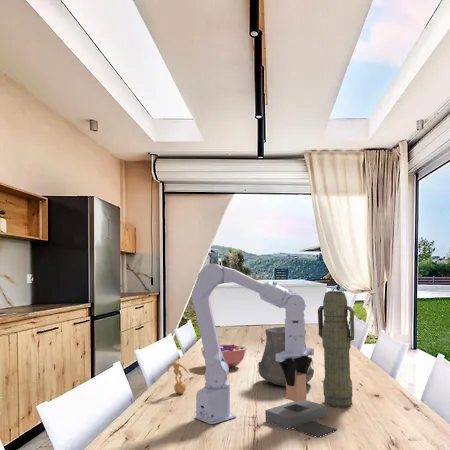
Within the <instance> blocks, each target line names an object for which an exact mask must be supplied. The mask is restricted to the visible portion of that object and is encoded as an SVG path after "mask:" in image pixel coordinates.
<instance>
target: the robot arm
mask: <svg viewBox="0 0 450 450" xmlns="http://www.w3.org/2000/svg"><path fill="white" fill-rule="evenodd" d="M222 282H223V284H229V283H234V284H236V285H238V286H241V287H244V288H246V289H248V290H251V291H253V292H255V293H258V295H259V297H260V299H261V300H262V301H264V302H267V303H269V304H270V305H272V306H275V307H276V308H279V309H283V308H284V309H285V319H284V327H285V351H283V352H281V353H278V354H276V361H278V362H279V364H280V365H281V367H282V369H283V372H284V375H285V378H286V382H287V385H289V386H294V383H295V371H296V372H299V373H303V374H307V371H308V368H309V365H310V364H311V363H312V361H313V358H312V357H310V356H315V349H314V347H313V348H312V347H306V348H305V344H306V334H305V330H306V328H305V327H306V325H305V323H306V321H305V313H304V311H305V309H306V307H307V305H306V302H305V300H304V298H303V297H302V296H301V295H300V294H298V293H297V292H293V290H292V289H290V288H289V289H286V288H285V287H282V286H280V285H278V282H276V281H267V282H260V281H259V280H257V279H254V278H252V276H249V275H246V274H245V273H243V272H241V271H238V270H237V269H235V268H231V267H228V266H223V265H220V264H218V263H209V264H206V265H205V266H204V267H202V268H201V270H200V271H199V272H198V274H197V278H196V281H195V284H194V286H193V289H192V292H191V298H192V303H193V308H194V313H195V316H196V320H197V326H198V329H199V335H200V340H201V344H202V347H203V349H204V353H205V359H204V364H205V372H204V380H205V383H204V386H203V388H201V389H199V390H197V392H196V395H195V402H196V403H195V409H196V410H195V412H196V413H195V415H194V419H197V420H198V421H202V422H205V423H206V424H208V425H214V424H217V423H221V422H225V421H228V420H231V419H235V418H237V415H236V414H233V413H231V395H230V393H231V391H230V390H231V385H230V382H229V381H228V375H229V374H230V373H229V372H230V367H229V366H228V364H227V363H226V361H225V360H224V358H223V354H222V352H221V349H220V345H221V344H220V341H219V336H218V334H217V333H218V332H217V328H216V323H215V320H214V315H213V310H212V307H211V302H210V296H211V294H212V293H213V291H214V290H215V288H217V286H219V285H220V284H221V283H222ZM292 359H294V361H293V360H292Z"/></svg>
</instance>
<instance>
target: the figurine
mask: <svg viewBox="0 0 450 450" xmlns="http://www.w3.org/2000/svg"><path fill="white" fill-rule="evenodd" d="M179 362H180V361H179V358H176V359H175V360H174V361H172V362H171V363H169V364H168V365H167V371H166V372H167V373H169V372H170V367H173V374H175V381H176V383H175V384H174V386H173V389H174V392H175V393H176V394H178V395H182V394H183V393H185V392H186V389H187V386H186V383H184V382H183V381H182V380H181V379H182V377H183V373H182V371H181V370H180V368H182V369H183V370H184V371H185V372H186V373H187V374H189V371H188V370H187V368H186V367H185V366H183V365H182V364H181V363H179ZM178 375H179V379H178Z"/></svg>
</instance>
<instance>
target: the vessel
mask: <svg viewBox="0 0 450 450" xmlns="http://www.w3.org/2000/svg"><path fill="white" fill-rule="evenodd" d="M264 332H265V335H266V337H265V339H266V340H265V346H264V350H263V353H262V356H261V360H260V361H259V362H258V363H257V365H258V366H257V367H258V374H259V376H260V377H261V378H262V379H263V380H264V381H267V382H269V383H271V384H273V385H276V386H281V387H286V378H285V375H284V372H283V369H282V367H281V365H280V364H279V362H278V361H276V354H278V353H281V352H283V351H285V326H278V327H276V326H275V327H270V328H265V331H264ZM306 332H307V330H306V329H305V335H306V334H307V333H306ZM305 348H307V344H306V343H305ZM292 360H293V361H294V359H292ZM295 372H296V371H295ZM314 372H315V370H314V368H313V367H312V365H311V364H310V365H309V368H308V371H307V374H306V384H307V383H308V382H310V381H311V380H312V379H313V377H314V374H315V373H314Z"/></svg>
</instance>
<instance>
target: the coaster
mask: <svg viewBox="0 0 450 450" xmlns="http://www.w3.org/2000/svg"><path fill="white" fill-rule="evenodd" d="M294 429H295V430H294ZM294 429H293V430H294V431H297V430H299V431H301V432H300V433H302V432H304V433H303V434H305V433H307V434H306V435H308V434H310V435H309V436H311V435H313V436H312V437H314V436H316V437H320V436H322V437H324V436H323V435H325V434H327V435H329V434H328V433H330V432H332V433H334V432H337V431H338V428H335V427H333V426H329V425H327V424H323V423H320V422H317V421H312V422H309V423H306V424H304V425H301V426H298V427H295V428H294ZM336 430H337V431H336ZM299 431H298V432H299ZM333 431H334V432H333ZM330 434H331V433H330ZM325 436H326V435H325ZM316 437H315V438H316ZM320 438H321V437H320Z"/></svg>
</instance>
